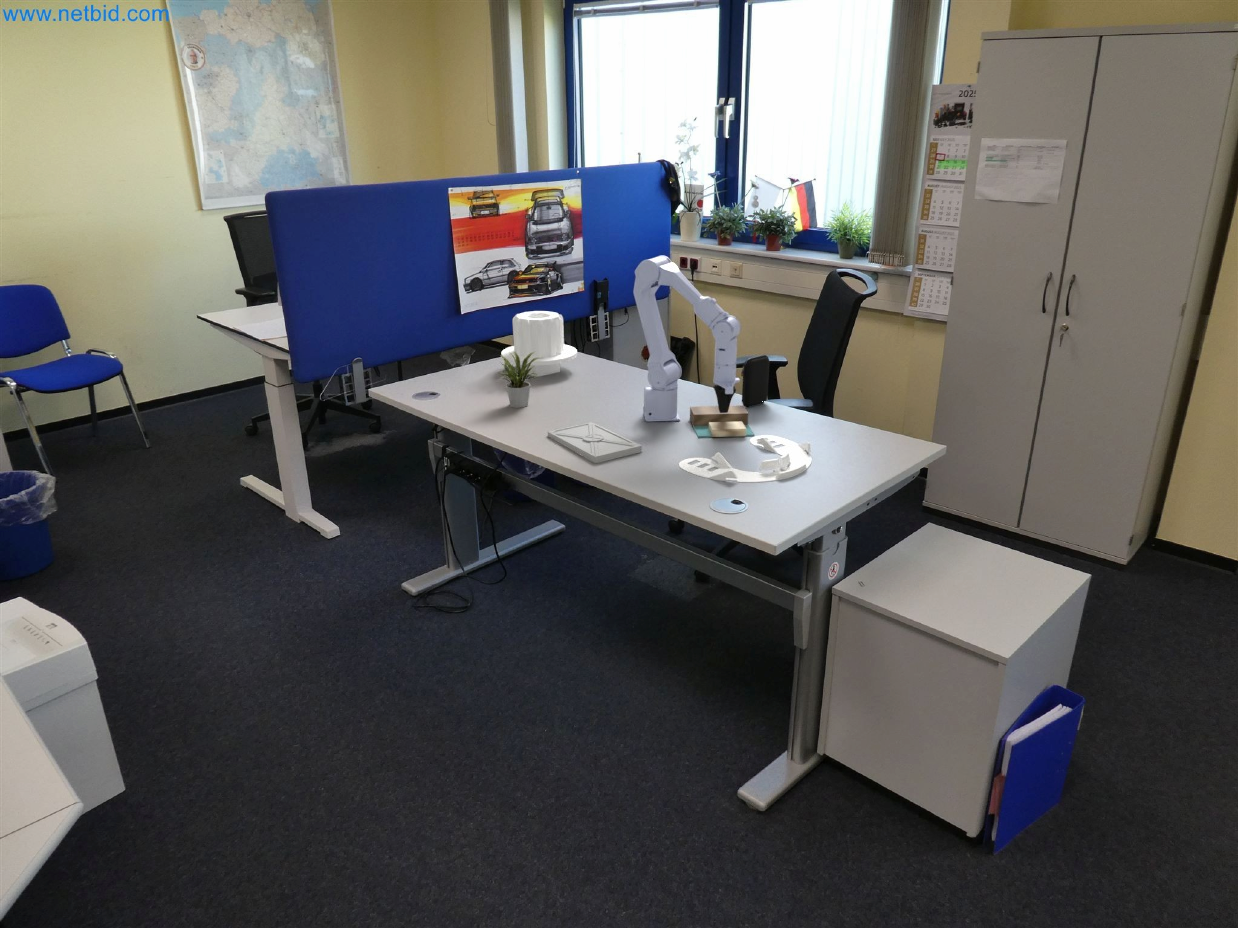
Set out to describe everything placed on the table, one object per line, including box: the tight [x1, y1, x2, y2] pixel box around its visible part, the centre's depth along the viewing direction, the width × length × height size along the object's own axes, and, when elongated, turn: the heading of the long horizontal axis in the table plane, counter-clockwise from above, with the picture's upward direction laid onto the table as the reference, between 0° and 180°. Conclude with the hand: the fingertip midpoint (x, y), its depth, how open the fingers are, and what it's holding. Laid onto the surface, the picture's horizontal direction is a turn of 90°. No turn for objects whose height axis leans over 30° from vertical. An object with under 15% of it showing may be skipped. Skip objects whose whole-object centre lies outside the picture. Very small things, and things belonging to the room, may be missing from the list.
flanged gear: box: [500, 310, 578, 378], centre depth 283 cm, size 25×25×19 cm
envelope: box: [547, 421, 643, 464], centre depth 222 cm, size 24×2×14 cm
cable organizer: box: [678, 434, 812, 484], centre depth 209 cm, size 35×24×3 cm
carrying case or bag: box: [740, 354, 770, 409], centre depth 248 cm, size 11×3×15 cm, turn 128°
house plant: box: [498, 351, 540, 409], centre depth 250 cm, size 14×14×16 cm
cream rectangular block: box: [709, 421, 747, 438], centre depth 228 cm, size 9×6×2 cm, turn 94°
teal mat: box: [693, 424, 755, 438], centre depth 230 cm, size 15×8×1 cm, turn 94°
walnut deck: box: [689, 404, 749, 428], centre depth 237 cm, size 15×7×4 cm, turn 94°
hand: (723, 412), depth 232 cm, fingers closed
